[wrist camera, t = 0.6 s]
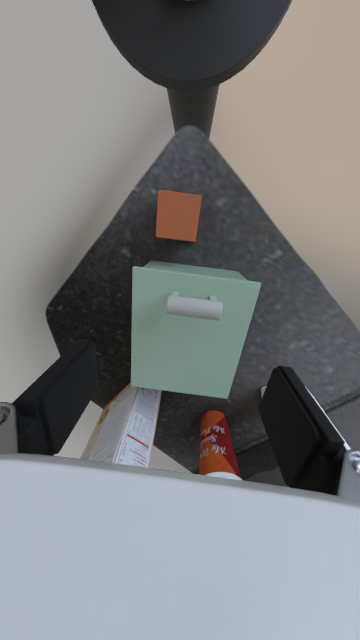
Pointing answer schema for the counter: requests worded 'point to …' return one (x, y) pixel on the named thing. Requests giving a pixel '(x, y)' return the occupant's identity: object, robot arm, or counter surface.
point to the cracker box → (126, 428)
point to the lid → (188, 330)
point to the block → (177, 215)
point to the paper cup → (217, 447)
